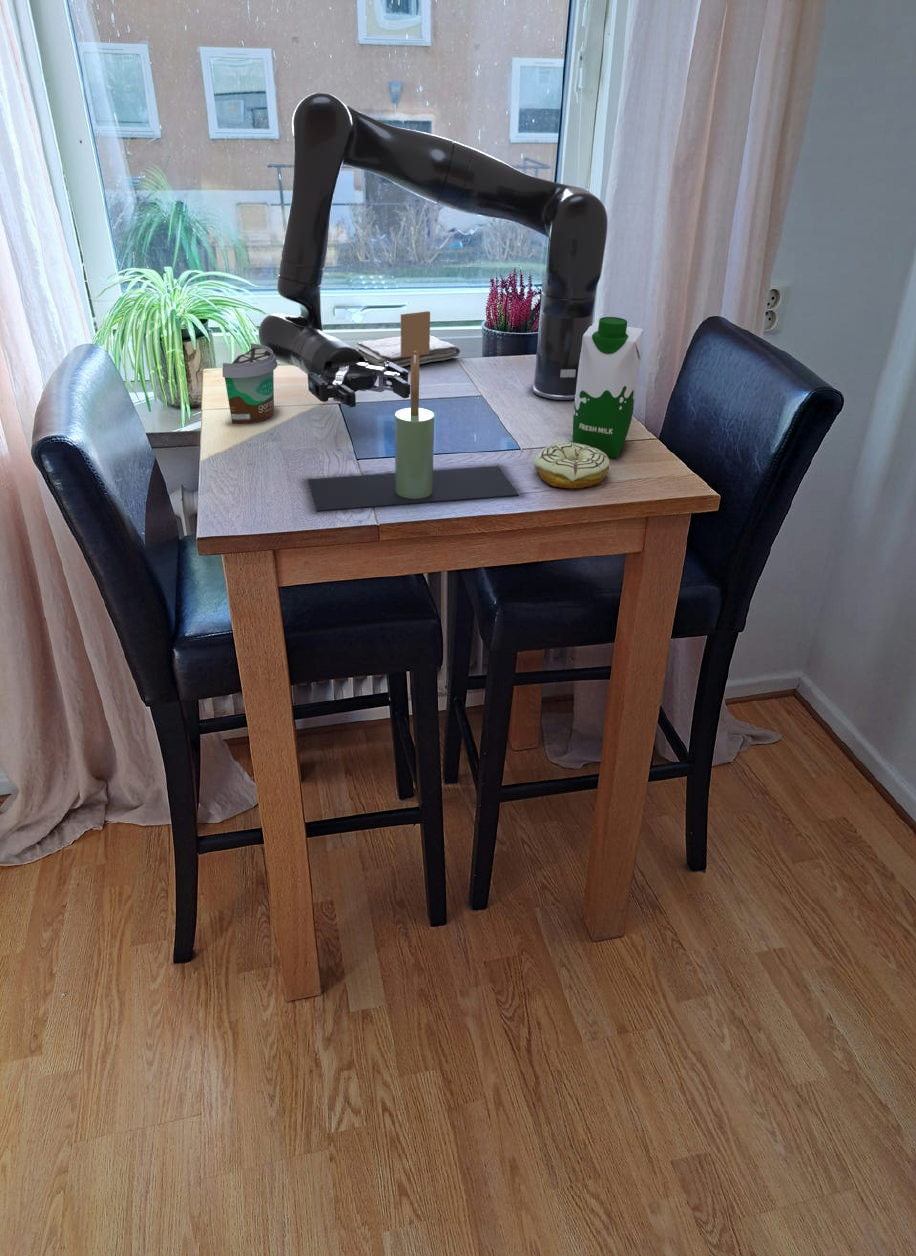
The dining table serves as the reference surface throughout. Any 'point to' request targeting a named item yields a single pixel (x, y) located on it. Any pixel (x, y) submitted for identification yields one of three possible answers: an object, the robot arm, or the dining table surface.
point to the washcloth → (391, 351)
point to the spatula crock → (414, 417)
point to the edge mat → (383, 493)
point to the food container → (251, 385)
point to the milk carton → (607, 384)
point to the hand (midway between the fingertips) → (380, 396)
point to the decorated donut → (571, 465)
